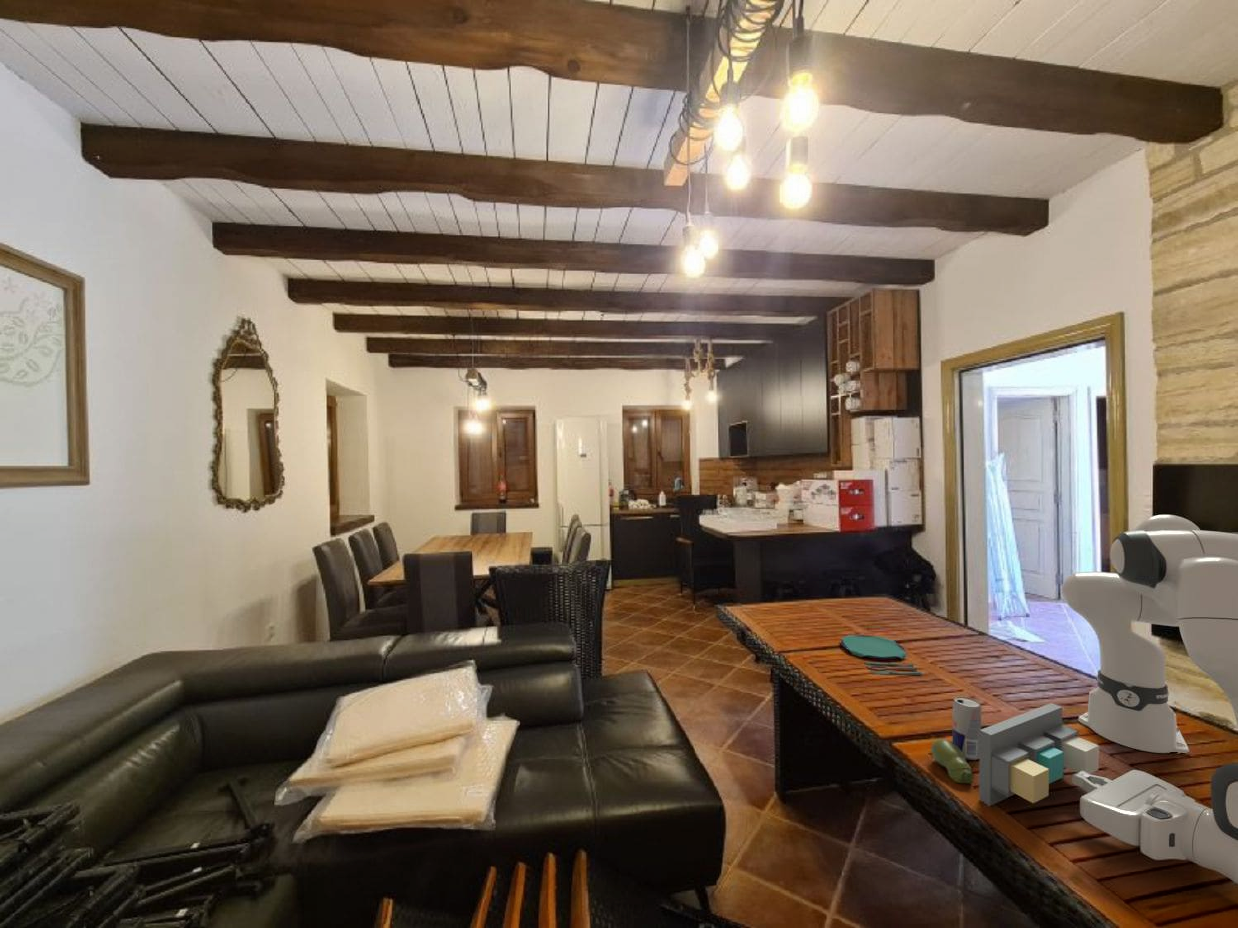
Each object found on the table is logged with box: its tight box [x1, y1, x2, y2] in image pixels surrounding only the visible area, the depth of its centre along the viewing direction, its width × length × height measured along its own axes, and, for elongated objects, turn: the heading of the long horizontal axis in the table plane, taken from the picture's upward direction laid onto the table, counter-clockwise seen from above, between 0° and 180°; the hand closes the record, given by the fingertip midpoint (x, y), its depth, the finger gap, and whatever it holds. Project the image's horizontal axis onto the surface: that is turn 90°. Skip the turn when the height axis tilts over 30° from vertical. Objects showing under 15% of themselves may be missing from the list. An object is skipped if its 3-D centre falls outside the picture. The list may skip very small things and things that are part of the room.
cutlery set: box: [840, 634, 923, 677], centre depth 172 cm, size 20×30×2 cm, turn 171°
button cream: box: [1062, 736, 1100, 775], centre depth 104 cm, size 5×4×5 cm
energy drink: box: [951, 696, 982, 761], centre depth 117 cm, size 5×5×12 cm
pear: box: [930, 738, 974, 784], centre depth 110 cm, size 6×5×10 cm
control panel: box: [978, 702, 1080, 807], centre depth 104 cm, size 25×5×14 cm, turn 115°
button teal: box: [1037, 746, 1064, 785], centre depth 102 cm, size 5×4×5 cm
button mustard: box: [1010, 758, 1050, 804], centre depth 97 cm, size 5×4×5 cm
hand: (1076, 776), depth 97 cm, fingers closed
